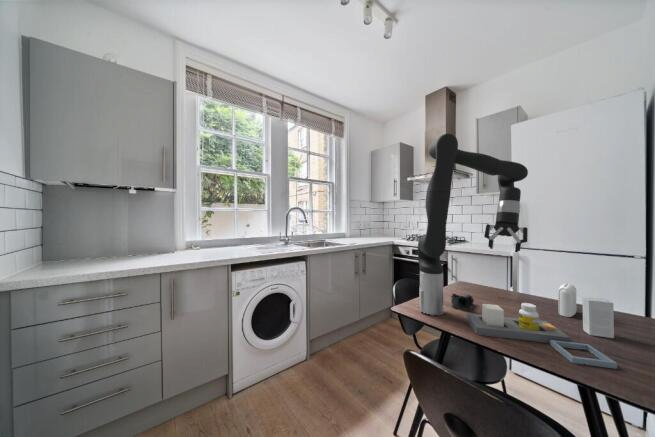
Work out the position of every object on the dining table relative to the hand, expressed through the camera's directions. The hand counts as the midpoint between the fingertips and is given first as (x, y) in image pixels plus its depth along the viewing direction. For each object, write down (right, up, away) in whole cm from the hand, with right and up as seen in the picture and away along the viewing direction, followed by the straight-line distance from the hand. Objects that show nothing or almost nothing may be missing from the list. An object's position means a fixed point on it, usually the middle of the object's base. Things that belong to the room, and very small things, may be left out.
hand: (503, 250), depth 97 cm
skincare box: (+19, -27, -17) cm, 37 cm away
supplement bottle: (-3, -27, -16) cm, 31 cm away
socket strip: (-8, -27, -15) cm, 31 cm away
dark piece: (-11, -27, +8) cm, 30 cm away
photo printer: (+26, -27, 0) cm, 37 cm away
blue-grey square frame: (0, -27, -29) cm, 40 cm away
